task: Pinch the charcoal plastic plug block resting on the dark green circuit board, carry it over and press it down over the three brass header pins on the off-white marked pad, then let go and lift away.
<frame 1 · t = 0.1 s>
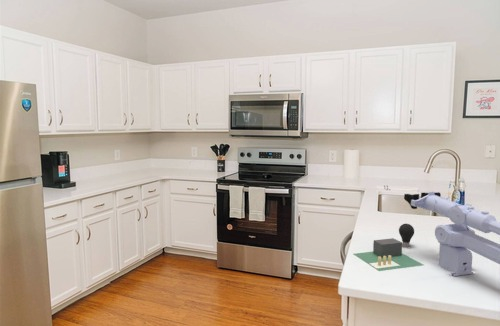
hand: (413, 195, 134), 22 cm above the worktop, tool horizontal, fingers open, 7 cm apart
light bulb: (405, 248, 138), on the worktop
plug housing: (387, 254, 129), point 1 cm above the worktop, touching header board
header board: (387, 261, 125), on the worktop
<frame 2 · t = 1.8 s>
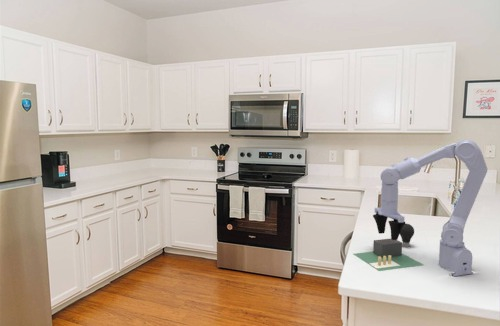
hand: (387, 236, 128), 8 cm above the worktop, tool pointing down, fingers open, 7 cm apart
nothing on the worktop moved.
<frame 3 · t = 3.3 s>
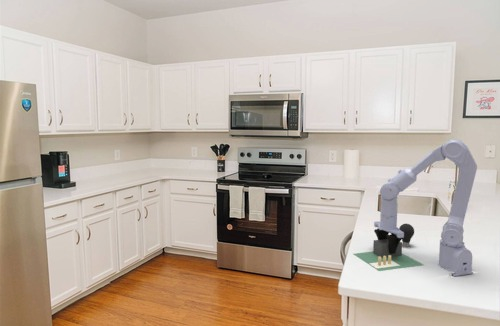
hand: (387, 250, 129), 2 cm above the worktop, tool pointing down, fingers closed on plug housing, 5 cm apart
plug housing: (387, 254, 129), point 1 cm above the worktop, touching gripper, header board
everything else where it was.
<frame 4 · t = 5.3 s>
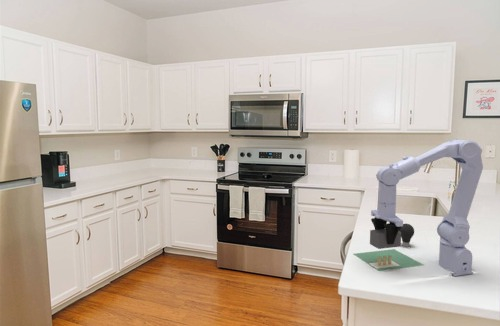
hand: (385, 241, 119), 9 cm above the worktop, tool pointing down, fingers closed on plug housing, 5 cm apart
plug housing: (385, 245, 119), point 8 cm above the worktop, touching gripper
everything else where it was.
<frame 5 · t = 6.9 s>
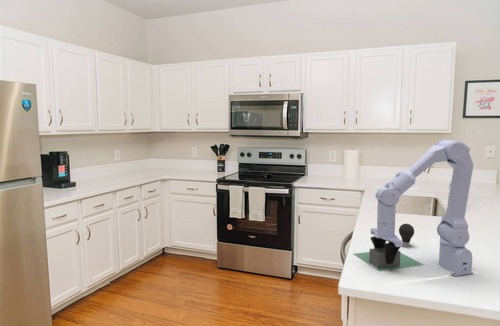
hand: (384, 260, 119), 3 cm above the worktop, tool pointing down, fingers closed on plug housing, 5 cm apart
plug housing: (384, 264, 120), point 1 cm above the worktop, touching gripper
everything else where it was.
when the fingers open (3 cm above the worktop, at t = 7.6 s): plug housing stays where it is, resting on header board.
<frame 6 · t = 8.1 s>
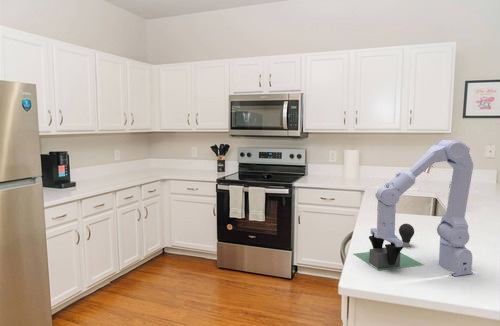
hand: (384, 260, 119), 3 cm above the worktop, tool pointing down, fingers open, 7 cm apart
plug housing: (384, 264, 120), point 1 cm above the worktop, touching header board
everything else where it was.
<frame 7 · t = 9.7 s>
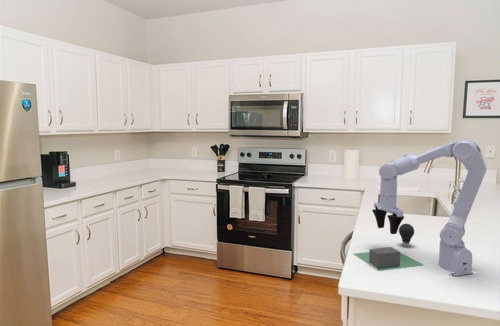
hand: (387, 230, 130), 9 cm above the worktop, tool pointing down, fingers open, 7 cm apart
nothing on the worktop moved.
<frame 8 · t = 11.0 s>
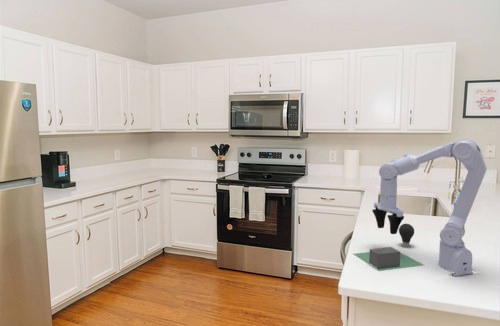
hand: (387, 230, 130), 9 cm above the worktop, tool pointing down, fingers open, 7 cm apart
nothing on the worktop moved.
at the end: plug housing 0.0 cm from the target spot on the header board, point 1.1 cm above the header board's base; plug housing tilted 0°; the gripper is holding nothing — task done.
